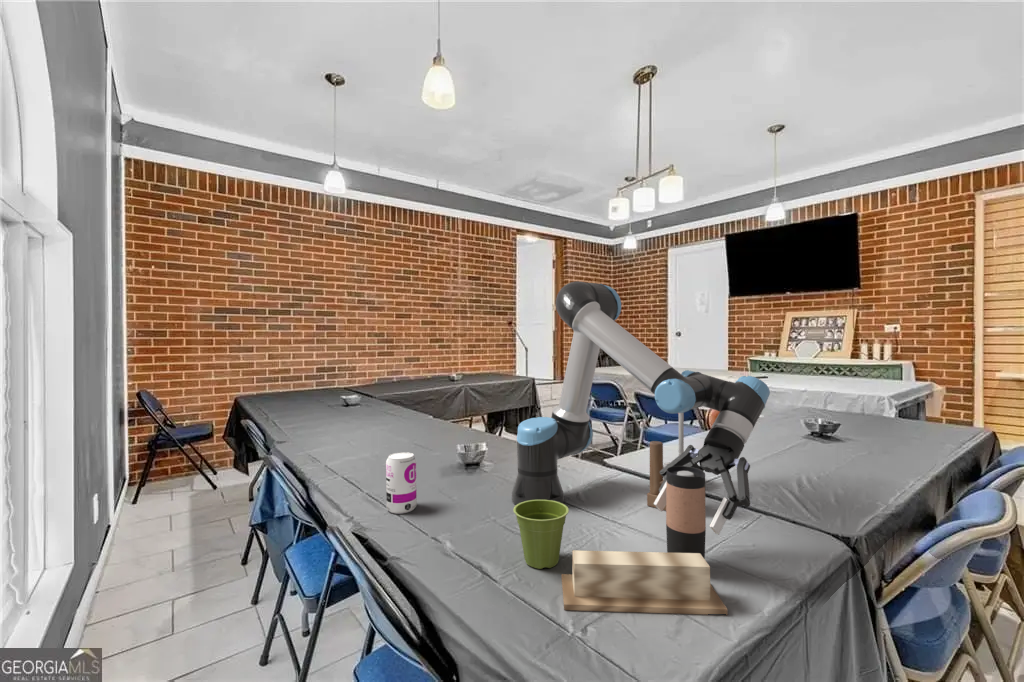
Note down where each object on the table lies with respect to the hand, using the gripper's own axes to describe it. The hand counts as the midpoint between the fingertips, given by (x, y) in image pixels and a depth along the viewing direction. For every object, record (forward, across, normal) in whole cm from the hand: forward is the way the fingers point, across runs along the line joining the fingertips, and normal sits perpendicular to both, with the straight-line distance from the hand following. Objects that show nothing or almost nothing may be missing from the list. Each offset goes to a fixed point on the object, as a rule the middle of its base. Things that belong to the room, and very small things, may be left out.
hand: (684, 518), depth 92 cm
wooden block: (-9, +23, -24) cm, 34 cm away
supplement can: (+35, +63, +20) cm, 75 cm away
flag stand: (-23, +34, -38) cm, 56 cm away
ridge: (+18, -2, +3) cm, 18 cm away
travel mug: (+7, 0, -8) cm, 11 cm away
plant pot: (+24, +19, +9) cm, 31 cm away
